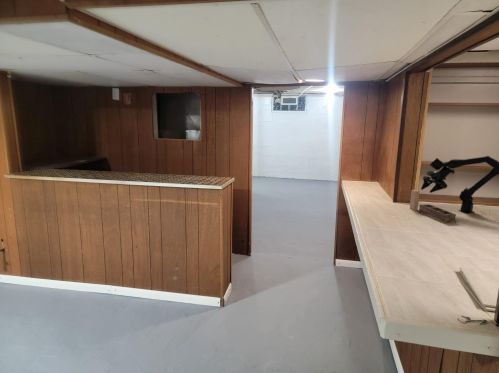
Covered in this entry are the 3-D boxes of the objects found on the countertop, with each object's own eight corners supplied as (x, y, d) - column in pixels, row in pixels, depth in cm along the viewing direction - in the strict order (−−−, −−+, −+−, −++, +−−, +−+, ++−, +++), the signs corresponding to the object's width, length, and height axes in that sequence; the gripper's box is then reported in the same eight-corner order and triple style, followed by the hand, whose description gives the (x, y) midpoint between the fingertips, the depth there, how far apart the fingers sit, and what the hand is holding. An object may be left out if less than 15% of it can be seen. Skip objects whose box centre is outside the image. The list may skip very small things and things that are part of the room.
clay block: (413, 208, 222) (415, 189, 220) (417, 209, 218) (419, 191, 215) (409, 208, 222) (411, 190, 219) (413, 210, 218) (415, 191, 215)
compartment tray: (430, 211, 214) (430, 204, 213) (456, 222, 191) (457, 214, 190) (417, 211, 213) (418, 204, 212) (442, 222, 190) (443, 214, 189)
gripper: (426, 164, 224) (410, 180, 225) (445, 168, 206) (427, 185, 207) (435, 175, 227) (419, 190, 228) (455, 180, 209) (437, 197, 210)
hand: (425, 190), depth 218 cm, fingers open, 9 cm apart
